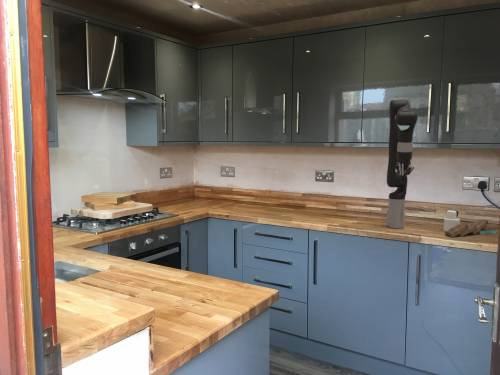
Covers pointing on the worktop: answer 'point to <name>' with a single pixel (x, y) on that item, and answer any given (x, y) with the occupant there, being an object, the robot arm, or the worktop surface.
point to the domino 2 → (468, 230)
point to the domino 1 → (456, 230)
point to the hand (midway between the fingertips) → (403, 182)
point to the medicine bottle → (451, 219)
